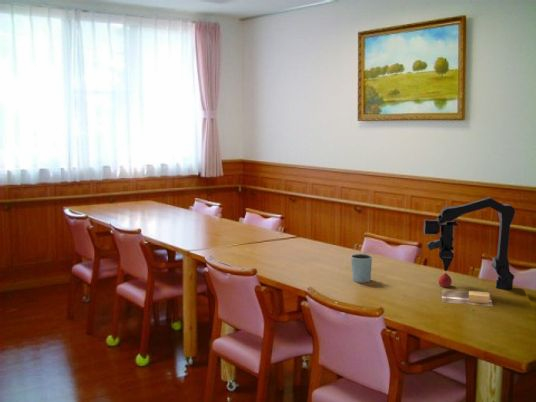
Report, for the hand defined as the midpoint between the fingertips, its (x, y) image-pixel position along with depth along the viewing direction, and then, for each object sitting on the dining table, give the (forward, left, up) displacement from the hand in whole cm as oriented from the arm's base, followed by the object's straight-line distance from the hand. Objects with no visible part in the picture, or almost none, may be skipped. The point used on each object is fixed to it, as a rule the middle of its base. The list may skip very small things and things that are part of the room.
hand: (445, 268), depth 269 cm
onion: (0, 0, -10) cm, 10 cm away
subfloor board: (-9, +16, -10) cm, 21 cm away
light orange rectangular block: (-14, +19, -8) cm, 25 cm away
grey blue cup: (+39, -4, -10) cm, 41 cm away
